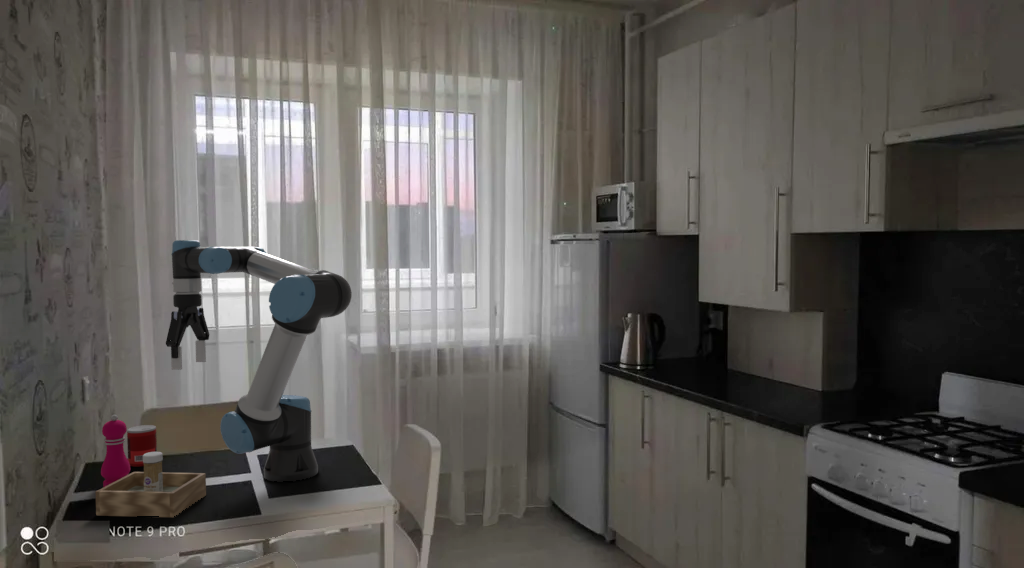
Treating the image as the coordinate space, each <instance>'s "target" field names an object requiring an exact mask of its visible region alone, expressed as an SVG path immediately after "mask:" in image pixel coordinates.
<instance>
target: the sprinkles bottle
mask: <svg viewBox="0 0 1024 568" xmlns="http://www.w3.org/2000/svg"><path fill="white" fill-rule="evenodd" d="M163 456H164V455H163V452H161V451H157V452H148V453H145V454H144V455H143V462H144V466H143V472H144V491H153V492H163V475H162V472H163V458H164V457H163Z"/></svg>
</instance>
